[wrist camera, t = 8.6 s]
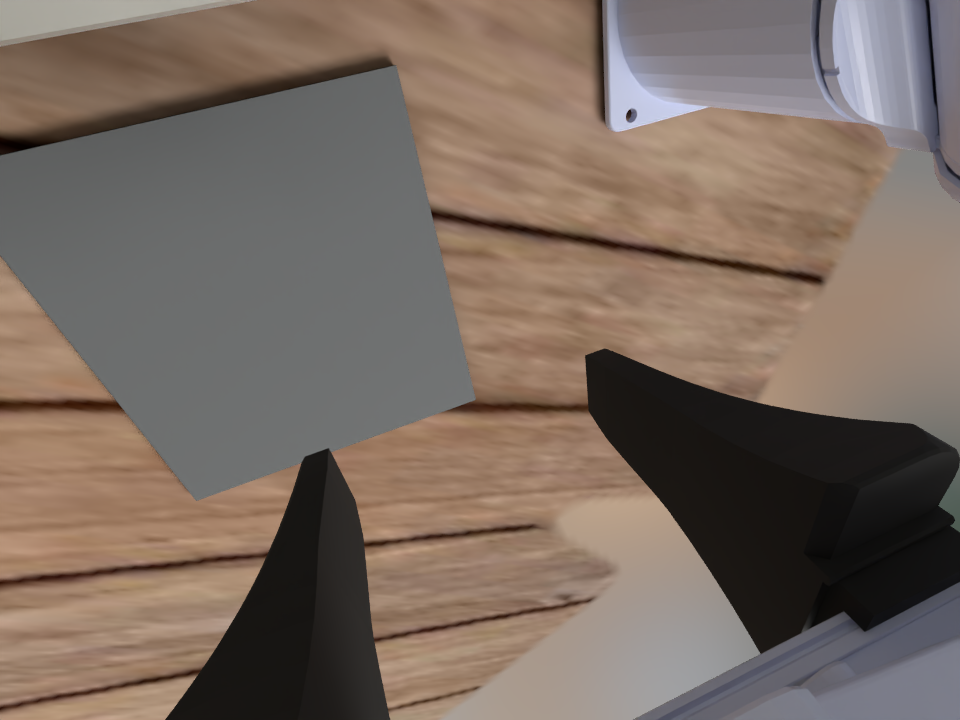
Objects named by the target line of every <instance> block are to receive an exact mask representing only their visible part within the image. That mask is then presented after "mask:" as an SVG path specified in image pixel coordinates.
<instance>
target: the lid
mask: <svg viewBox="0 0 960 720" xmlns="http://www.w3.org/2000/svg"><path fill="white" fill-rule="evenodd" d="M249 1H255V0H0V47H1V46H6V45H12V44H17V43H23V42H28V41H34V40H39V39H45V38H50V37H56V36H61V35H67V34H72V33H78V32H83V31H89V30H94V29H100V28H106V27H111V26H117V25H122V24H128V23H133V22H139V21H144V20H150V19H155V18H161V17H166V16H172V15H177V14H183V13H188V12H194V11H199V10H205V9H210V8H216V7H221V6H227V5H233V4H238V3H244V2H249Z"/></svg>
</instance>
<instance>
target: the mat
mask: <svg viewBox="0 0 960 720" xmlns="http://www.w3.org/2000/svg"><path fill="white" fill-rule="evenodd" d="M0 256H1V257H2V258H3V259H4V261H5V262H6V263H7V264H8V266H9V267H10V268H11V269H12V271H13V272H14V273H15V275H16V276H17V277H18V278H19V280H20V281H21V282H22V283H23V285H24V286H25V287H26V288H27V290H28V291H29V292H30V293H31V295H32V296H33V297H34V298H35V300H36V301H37V302H38V303H39V305H40V306H41V307H42V308H43V310H44V311H45V312H46V313H47V315H48V316H49V317H50V318H51V320H52V321H53V322H54V323H55V325H56V326H57V327H58V328H59V330H60V331H61V332H62V333H63V335H64V336H65V337H66V338H67V340H68V341H69V342H70V343H71V345H72V346H73V347H74V348H75V350H76V351H77V352H78V353H79V355H80V356H81V357H82V358H83V360H84V361H85V362H86V363H87V365H88V366H89V367H90V368H91V370H92V371H93V372H94V373H95V375H96V376H97V377H98V378H99V380H100V381H101V382H102V383H103V385H104V386H105V387H106V388H107V390H108V391H109V392H110V393H111V395H112V396H113V397H114V398H115V400H116V401H117V402H118V403H119V405H120V406H121V407H122V408H123V410H124V411H125V412H126V413H127V415H128V416H129V417H130V418H131V420H132V421H133V422H134V423H135V425H136V426H137V427H138V428H139V430H140V431H141V432H142V433H143V435H144V436H145V437H146V439H147V440H148V441H149V442H150V444H151V445H152V446H153V447H154V449H155V450H156V451H157V452H158V454H159V455H160V456H161V457H162V459H163V460H164V461H165V462H166V464H167V465H168V466H169V467H170V469H171V470H172V471H173V472H174V474H175V475H176V476H177V477H178V479H179V480H180V481H181V482H182V484H183V485H184V486H185V487H186V489H187V490H188V491H189V492H190V494H191V495H192V496H193V497H194V499H195V500H196V501H197V500H200V499H203V498H206V497H208V496H211V495H214V494H217V493H219V492H222V491H225V490H228V489H230V488H233V487H236V486H239V485H241V484H244V483H247V482H250V481H252V480H255V479H258V478H261V477H264V476H266V475H269V474H272V473H275V472H277V471H280V470H283V469H286V468H288V467H291V466H294V465H297V464H299V463H302V461H303V459H304V457H305V456H308V455H311V454H313V453H316V452H319V451H322V450H324V449H327V448H329V449H330V451H331V452H333V451H335V450H338V449H341V448H344V447H346V446H349V445H352V444H355V443H357V442H360V441H363V440H366V439H368V438H371V437H374V436H377V435H380V434H382V433H385V432H388V431H391V430H393V429H396V428H399V427H402V426H404V425H407V424H410V423H413V422H415V421H418V420H421V419H424V418H426V417H429V416H432V415H435V414H438V413H440V412H443V411H446V410H449V409H451V408H454V407H457V406H460V405H462V404H465V403H468V402H471V401H473V400H476V399H475V394H474V390H473V386H472V382H471V378H470V374H469V369H468V365H467V361H466V357H465V353H464V348H463V344H462V340H461V336H460V332H459V327H458V323H457V319H456V315H455V311H454V306H453V302H452V298H451V294H450V290H449V285H448V281H447V277H446V273H445V269H444V264H443V260H442V256H441V252H440V248H439V243H438V239H437V235H436V231H435V227H434V222H433V218H432V214H431V210H430V206H429V201H428V197H427V193H426V189H425V185H424V180H423V176H422V172H421V168H420V164H419V159H418V155H417V151H416V147H415V143H414V138H413V134H412V130H411V126H410V122H409V117H408V113H407V109H406V105H405V101H404V96H403V92H402V88H401V84H400V80H399V75H398V71H397V67H396V65H393V66H389V67H385V68H380V69H376V70H371V71H367V72H363V73H358V74H354V75H350V76H345V77H341V78H336V79H332V80H328V81H323V82H319V83H314V84H310V85H306V86H301V87H297V88H293V89H288V90H284V91H279V92H275V93H271V94H266V95H262V96H257V97H253V98H249V99H244V100H240V101H236V102H231V103H227V104H222V105H218V106H214V107H209V108H205V109H200V110H196V111H192V112H187V113H183V114H179V115H174V116H170V117H165V118H161V119H157V120H152V121H148V122H143V123H139V124H135V125H130V126H126V127H122V128H117V129H113V130H108V131H104V132H100V133H95V134H91V135H87V136H82V137H78V138H73V139H69V140H65V141H60V142H56V143H51V144H47V145H43V146H38V147H34V148H30V149H25V150H21V151H16V152H12V153H8V154H3V155H0Z"/></svg>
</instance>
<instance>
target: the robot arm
mask: <svg viewBox="0 0 960 720" xmlns="http://www.w3.org/2000/svg"><path fill="white" fill-rule="evenodd" d="M602 10H603V49H604V89H605V122H606V126H607V127H608V129H610V130H611V131H615V132H620V131H624V130H628V129H631V128H635V127H639V126H642V125H646V124H649V123H653V122H657V121H660V120H664V119H668V118H671V117H675V116H679V115H682V114H686V113H689V112H693V111H697V110H700V109H704V108H708V107H716V108H725V109H734V110H743V111H753V112H762V113H771V114H780V115H790V116H799V117H808V118H817V119H827V120H836V121H845V122H854V123H863V124H869V125H872V126H876V127H877V128H879V129H880V130H881V131H882V133H883V134H884V136H885V139H886V143H887V145H888V146H890V147H897V148H904V149H911V150H918V151H925V152H933V159H934V168H935V174H936V176H937V178H938V181H939V183H940V185H941V186H942V188H943V189H944V190H945V191H946V192H947V193H948V194H949V195H950V196H951V197H952V198H953V199H955V200H956V201H958V202H959V203H960V0H602ZM630 109H631V113H632V114H631V118H630V119H629V120H628V121H626V113H627V112H628V110H630ZM585 360H586V375H587V391H588V407H589V412H590V414H591V415H592V417H593V418H594V420H595V422H596V423H597V425H598V426H599V428H600V429H601V431H602V432H603V434H604V435H605V437H606V438H607V439H608V441H609V442H610V443H611V444H612V445H613V447H614V448H615V449H616V450H617V451H618V452H619V454H620V455H621V456H622V457H623V458H624V459H625V460H626V462H627V463H628V464H629V465H630V466H631V467H632V468H633V470H634V471H635V472H636V473H637V474H638V475H639V476H640V478H641V479H642V480H643V481H644V482H645V483H646V484H647V486H648V487H649V488H650V489H651V490H652V491H653V492H654V494H655V495H656V496H657V497H658V498H659V499H660V501H661V502H662V503H663V504H664V506H665V507H666V508H667V509H668V511H669V512H670V513H671V515H672V516H673V518H674V519H675V521H676V522H677V523H678V525H679V526H680V527H681V529H682V530H683V532H684V533H685V535H686V536H687V537H688V539H689V540H690V542H691V543H692V545H693V546H694V548H695V549H696V551H697V552H698V554H699V555H700V557H701V558H702V560H703V561H704V563H705V564H706V566H707V567H708V569H709V570H710V572H711V573H712V575H713V576H714V578H715V579H716V581H717V583H718V584H719V586H720V587H721V589H722V591H723V592H724V594H725V595H726V597H727V598H728V600H729V602H730V603H731V604H732V606H733V608H734V610H735V611H736V613H737V615H738V616H739V618H740V620H741V621H742V623H743V625H744V626H745V628H746V630H747V631H748V633H749V635H750V636H751V638H752V639H753V641H754V643H755V645H756V647H757V648H758V650H759V652H760V653H761V654H760V655H758V656H756V657H754V658H752V659H750V660H748V661H746V662H744V663H742V664H740V665H739V666H737V667H734V668H733V669H731V670H729V671H727V672H725V673H723V674H721V675H719V676H717V677H715V678H713V679H711V680H709V681H707V682H705V683H703V684H701V685H700V686H698V687H696V688H694V689H692V690H690V691H688V692H686V693H684V694H682V695H680V696H678V697H676V698H674V699H672V700H670V701H669V702H666V703H664V704H663V705H661V706H659V707H657V708H655V709H653V710H651V711H649V712H647V713H645V714H643V715H641V716H640V717H637V718H635V719H633V720H960V532H958V531H957V530H955V529H954V528H952V527H951V526H950V525H952V524H953V523H954V521H955V519H954V517H953V516H952V515H950V514H949V513H948V512H946V511H945V510H943V509H942V508H940V507H939V506H938V505H939V503H940V501H941V500H942V498H943V496H944V494H945V493H946V491H947V489H948V488H949V486H950V484H951V482H952V481H953V479H954V477H955V475H956V473H957V471H958V468H959V463H960V457H959V454H958V452H957V450H956V449H955V448H953V447H952V446H950V445H948V444H947V443H945V442H943V441H942V440H940V439H938V438H936V437H935V436H933V435H931V434H930V433H928V432H926V431H924V430H923V429H921V428H919V427H917V426H916V425H914V424H908V423H895V422H882V421H870V420H858V419H849V418H841V417H834V416H826V415H819V414H812V413H806V412H800V411H794V410H790V409H784V408H780V407H775V406H769V405H766V404H761V403H757V402H753V401H749V400H745V399H741V398H738V397H734V396H730V395H727V394H723V393H720V392H717V391H714V390H711V389H708V388H705V387H702V386H699V385H696V384H693V383H690V382H687V381H685V380H682V379H679V378H677V377H674V376H671V375H669V374H666V373H664V372H661V371H659V370H656V369H654V368H651V367H649V366H647V365H644V364H642V363H639V362H637V361H635V360H632V359H630V358H628V357H625V356H623V355H620V354H618V353H615V352H613V351H610V350H608V349H602V350H599V351H596V352H594V353H591V354H588V355H585ZM165 720H390V718H389V713H388V708H387V703H386V698H385V693H384V689H383V684H382V679H381V674H380V669H379V664H378V658H377V653H376V648H375V643H374V638H373V630H372V623H371V614H370V603H369V592H368V581H367V570H366V560H365V550H364V540H363V533H362V528H361V524H360V519H359V515H358V510H357V506H356V502H355V499H354V497H353V495H352V493H351V491H350V489H349V487H348V485H347V483H346V481H345V479H344V477H343V475H342V473H341V471H340V469H339V467H338V465H337V463H336V461H335V459H334V457H333V455H332V453H331V451H330V449H329V448H327V449H324V450H322V451H319V452H316V453H313V454H311V455H308V456H305V457H304V459H303V461H302V463H301V467H300V470H299V473H298V476H297V479H296V483H295V486H294V489H293V492H292V494H291V497H290V500H289V503H288V506H287V508H286V511H285V514H284V516H283V519H282V521H281V524H280V527H279V529H278V532H277V534H276V536H275V539H274V541H273V543H272V545H271V548H270V550H269V552H268V554H267V557H266V559H265V561H264V563H263V566H262V568H261V570H260V572H259V574H258V576H257V578H256V580H255V582H254V584H253V586H252V588H251V590H250V591H249V593H248V595H247V597H246V599H245V601H244V602H243V604H242V606H241V608H240V610H239V611H238V613H237V615H236V616H235V618H234V620H233V621H232V623H231V625H230V626H229V628H228V630H227V631H226V633H225V635H224V636H223V638H222V640H221V641H220V643H219V644H218V646H217V648H216V649H215V651H214V652H213V654H212V655H211V657H210V658H209V660H208V661H207V663H206V664H205V666H204V667H203V668H202V670H201V671H200V673H199V674H198V676H197V677H196V678H195V680H194V681H193V683H192V684H191V686H190V687H189V688H188V690H187V691H186V693H185V694H184V695H183V697H182V698H181V699H180V701H179V702H178V704H177V705H176V706H175V708H174V709H173V710H172V711H171V713H170V714H169V715H168V717H167V718H166V719H165Z"/></svg>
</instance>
